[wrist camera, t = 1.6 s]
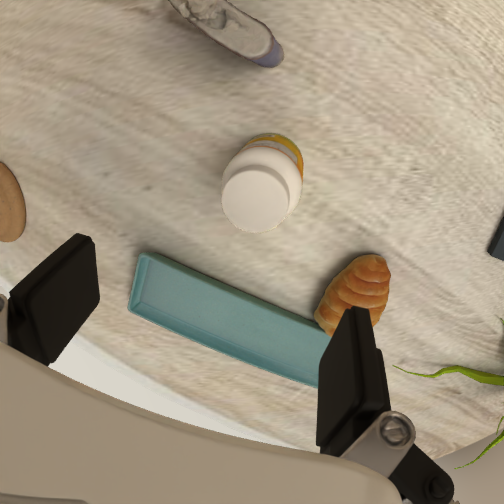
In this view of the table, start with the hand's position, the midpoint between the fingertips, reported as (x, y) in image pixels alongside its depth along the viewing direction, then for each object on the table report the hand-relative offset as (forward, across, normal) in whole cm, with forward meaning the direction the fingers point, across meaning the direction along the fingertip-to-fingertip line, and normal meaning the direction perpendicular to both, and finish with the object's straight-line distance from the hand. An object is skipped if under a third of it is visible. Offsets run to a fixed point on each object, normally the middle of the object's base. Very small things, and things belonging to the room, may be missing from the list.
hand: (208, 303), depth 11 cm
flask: (+19, +5, -12) cm, 22 cm away
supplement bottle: (+19, 0, 0) cm, 19 cm away
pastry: (+19, -11, +10) cm, 24 cm away
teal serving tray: (+19, -1, +18) cm, 26 cm away
